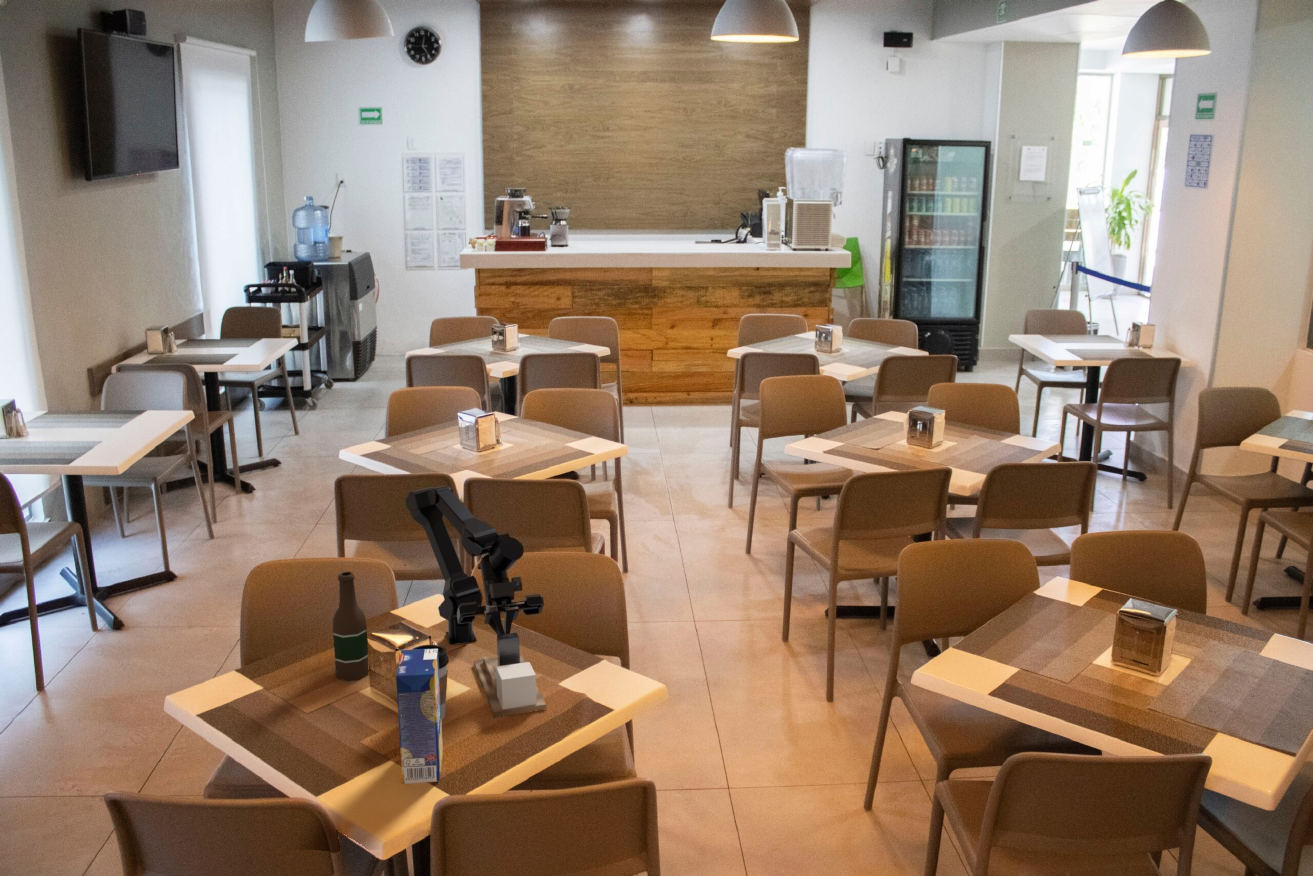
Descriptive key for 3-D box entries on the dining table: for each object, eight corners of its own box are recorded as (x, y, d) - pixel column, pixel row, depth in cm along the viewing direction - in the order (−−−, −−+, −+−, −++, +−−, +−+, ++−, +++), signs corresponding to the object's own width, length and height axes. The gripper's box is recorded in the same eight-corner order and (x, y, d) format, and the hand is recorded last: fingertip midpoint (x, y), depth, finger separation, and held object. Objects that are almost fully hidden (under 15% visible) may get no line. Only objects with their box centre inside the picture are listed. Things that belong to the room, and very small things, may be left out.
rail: (474, 665, 253) (473, 655, 253) (521, 659, 257) (521, 648, 256) (494, 717, 230) (494, 706, 230) (546, 709, 234) (546, 698, 233)
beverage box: (442, 750, 218) (438, 648, 212) (439, 781, 207) (434, 674, 202) (407, 753, 217) (401, 649, 211) (402, 784, 206) (395, 676, 201)
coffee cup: (429, 731, 225) (425, 663, 221) (401, 718, 230) (397, 652, 226) (459, 715, 231) (457, 649, 228) (432, 702, 236) (429, 638, 233)
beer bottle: (375, 666, 253) (369, 567, 246) (363, 682, 245) (356, 581, 239) (342, 664, 253) (335, 566, 247) (329, 680, 246) (321, 579, 240)
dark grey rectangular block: (498, 681, 243) (496, 635, 240) (518, 678, 244) (516, 632, 241) (506, 701, 234) (505, 653, 231) (527, 698, 235) (526, 651, 233)
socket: (497, 695, 237) (496, 666, 235) (530, 690, 239) (529, 661, 238) (502, 709, 231) (501, 679, 230) (536, 704, 234) (535, 674, 232)
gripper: (456, 569, 240) (467, 637, 232) (541, 560, 245) (554, 626, 238) (452, 590, 249) (462, 656, 242) (534, 580, 255) (546, 644, 247)
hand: (506, 645), depth 242 cm, fingers closed
